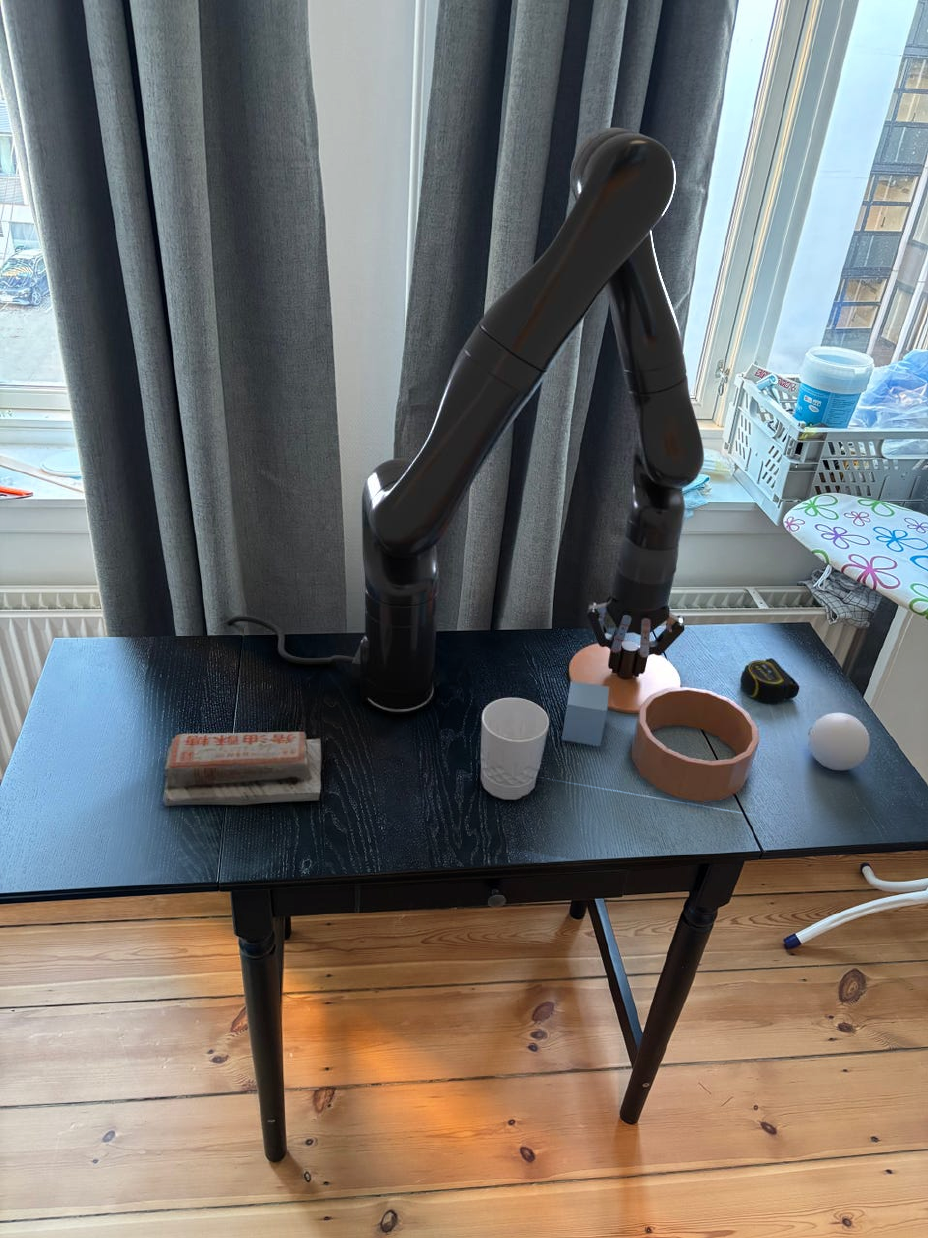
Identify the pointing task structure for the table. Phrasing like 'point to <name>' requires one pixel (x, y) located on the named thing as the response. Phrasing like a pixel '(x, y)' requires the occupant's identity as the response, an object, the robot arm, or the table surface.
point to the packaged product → (242, 768)
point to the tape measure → (768, 682)
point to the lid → (623, 675)
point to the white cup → (512, 746)
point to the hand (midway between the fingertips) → (625, 671)
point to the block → (585, 713)
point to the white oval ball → (838, 741)
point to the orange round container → (690, 773)
